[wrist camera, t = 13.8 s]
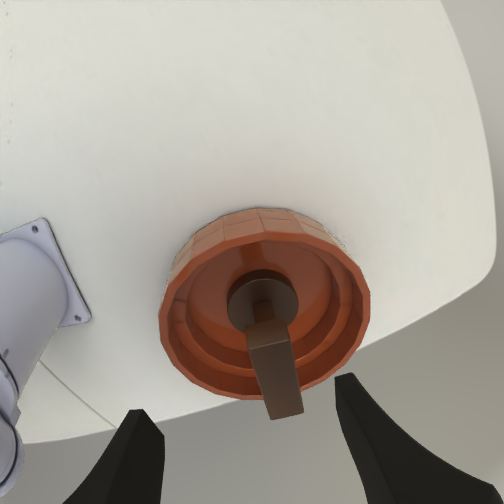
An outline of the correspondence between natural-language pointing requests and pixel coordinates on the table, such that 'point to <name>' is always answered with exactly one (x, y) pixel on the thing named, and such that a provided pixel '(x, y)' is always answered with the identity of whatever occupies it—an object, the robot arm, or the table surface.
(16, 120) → the table surface
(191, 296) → the bowl
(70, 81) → the table surface
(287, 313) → the brown lever knob
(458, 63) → the table surface
